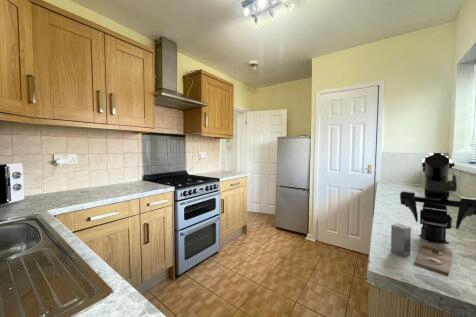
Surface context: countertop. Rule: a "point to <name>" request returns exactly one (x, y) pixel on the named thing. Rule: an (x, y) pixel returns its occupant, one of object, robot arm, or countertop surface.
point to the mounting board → (434, 259)
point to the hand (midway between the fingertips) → (436, 224)
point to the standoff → (400, 239)
